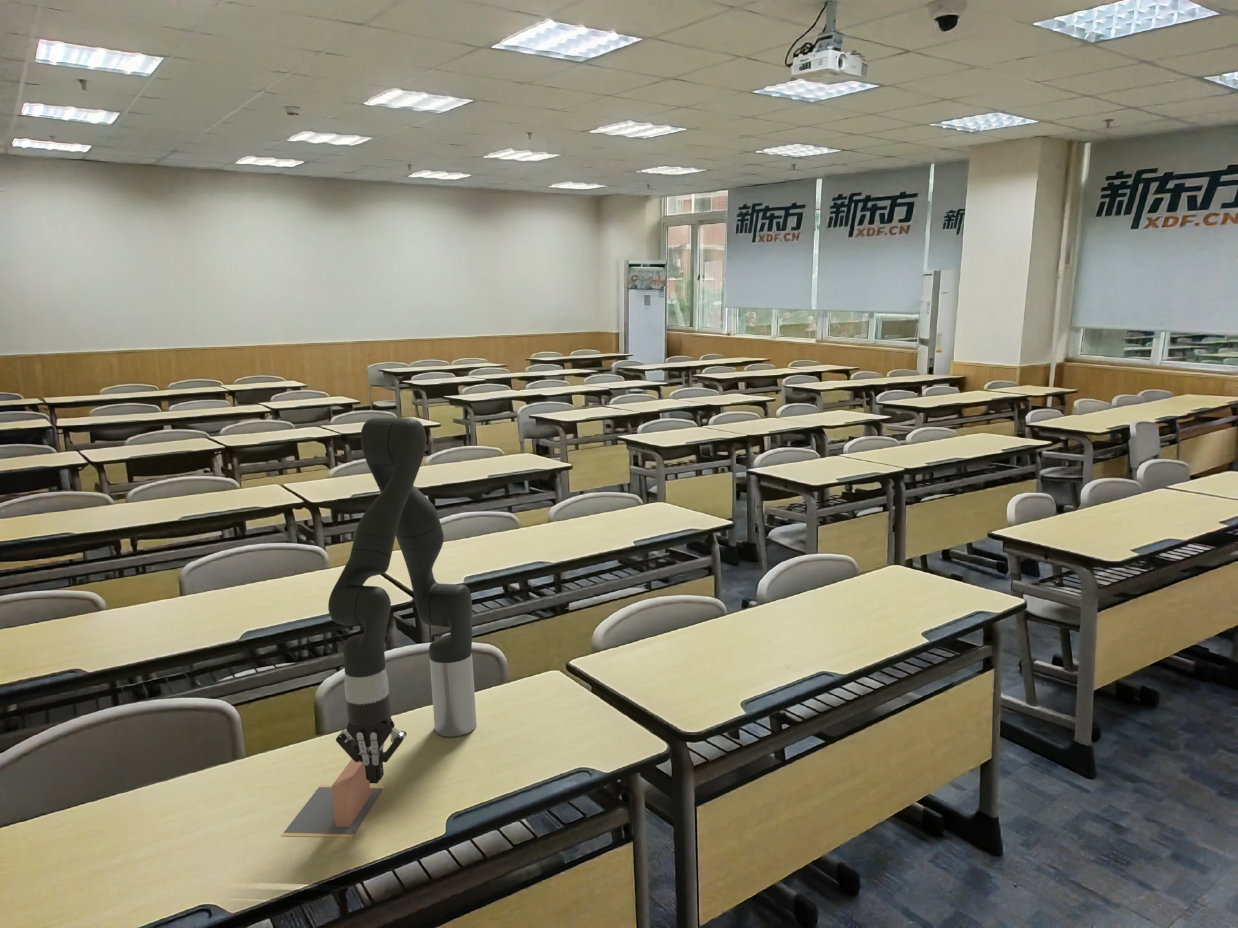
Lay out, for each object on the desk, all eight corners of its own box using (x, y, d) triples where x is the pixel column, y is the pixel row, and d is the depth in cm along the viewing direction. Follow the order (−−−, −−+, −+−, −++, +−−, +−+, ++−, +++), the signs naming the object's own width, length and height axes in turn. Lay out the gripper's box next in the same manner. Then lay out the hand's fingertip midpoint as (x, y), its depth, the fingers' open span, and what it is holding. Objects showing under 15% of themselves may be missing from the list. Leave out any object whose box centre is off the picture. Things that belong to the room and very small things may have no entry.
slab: (357, 794, 156) (354, 755, 155) (370, 794, 156) (367, 756, 154) (335, 826, 146) (331, 785, 145) (349, 826, 146) (345, 785, 145)
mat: (320, 787, 160) (320, 784, 160) (385, 788, 159) (385, 785, 159) (281, 838, 144) (280, 835, 144) (352, 840, 143) (352, 837, 143)
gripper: (410, 683, 150) (416, 770, 153) (340, 683, 151) (348, 769, 154) (396, 702, 142) (403, 793, 145) (322, 702, 143) (331, 792, 146)
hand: (375, 780), depth 149 cm, fingers closed
